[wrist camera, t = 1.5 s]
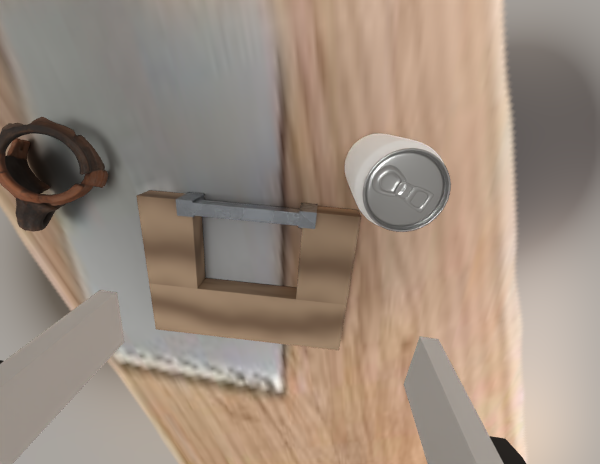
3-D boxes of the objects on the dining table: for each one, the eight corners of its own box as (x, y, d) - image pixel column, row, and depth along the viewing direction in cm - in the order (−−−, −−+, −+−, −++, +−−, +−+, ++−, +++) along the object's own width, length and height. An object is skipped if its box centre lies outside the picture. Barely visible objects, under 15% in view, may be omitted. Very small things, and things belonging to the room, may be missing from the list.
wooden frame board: (149, 190, 33) (136, 195, 30) (358, 210, 32) (360, 217, 29) (165, 316, 39) (155, 329, 37) (338, 336, 38) (338, 350, 36)
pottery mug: (19, 111, 31) (-24, 97, 24) (119, 139, 35) (109, 134, 28) (5, 217, 33) (-39, 234, 25) (103, 231, 37) (90, 248, 30)
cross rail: (188, 192, 32) (175, 199, 29) (317, 204, 32) (316, 212, 29) (189, 207, 33) (177, 215, 30) (315, 219, 32) (315, 229, 29)
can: (365, 120, 28) (393, 120, 17) (419, 152, 29) (480, 173, 18) (332, 177, 30) (337, 210, 19) (383, 205, 31) (416, 253, 20)
